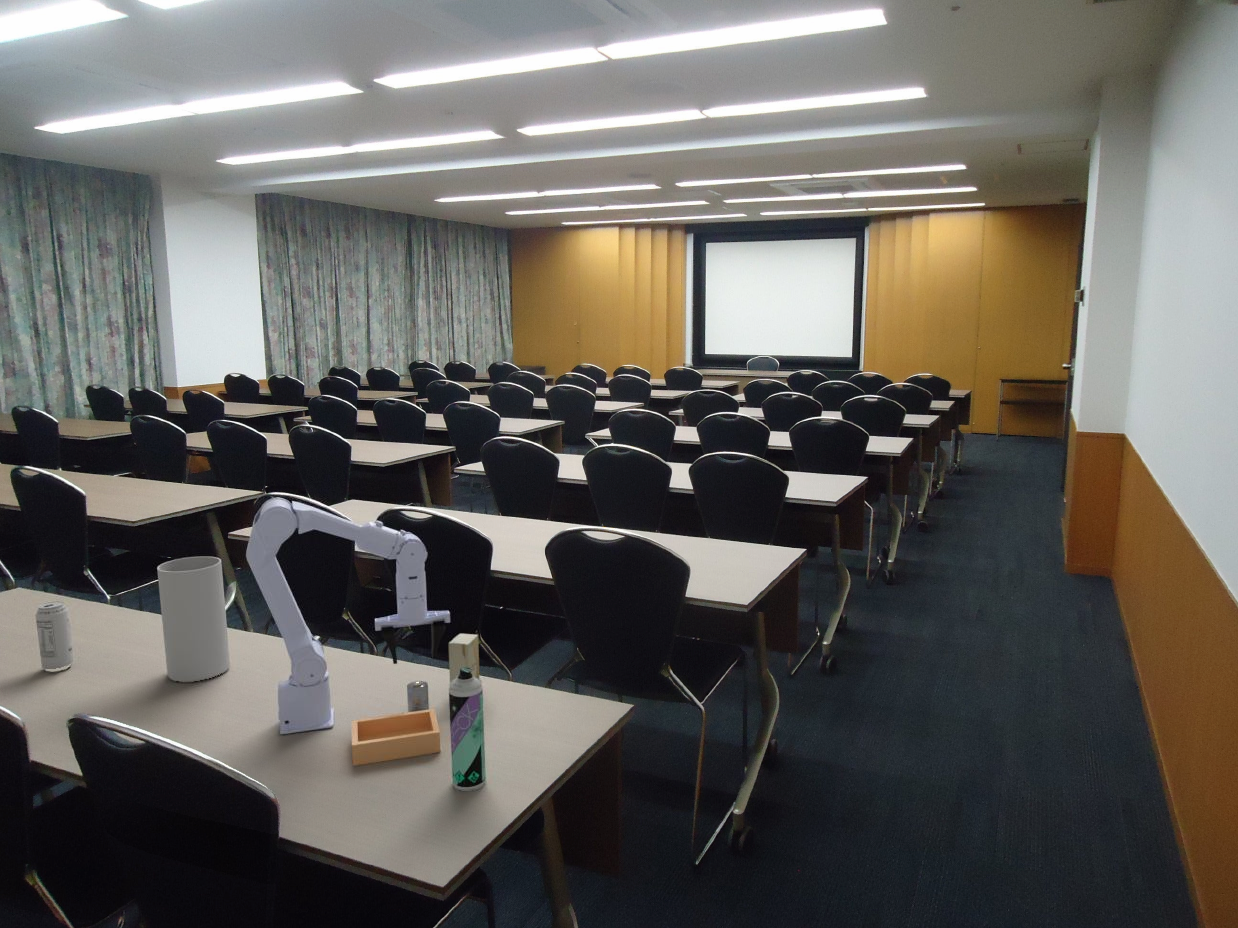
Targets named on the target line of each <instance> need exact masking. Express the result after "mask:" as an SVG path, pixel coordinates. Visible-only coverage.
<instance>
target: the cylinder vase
mask: <svg viewBox="0 0 1238 928" xmlns="http://www.w3.org/2000/svg"><path fill="white" fill-rule="evenodd" d="M222 565H223V564H222V559H221V558H219V557H215V556H191V557H190V556H189V557H182V558H178V559H177V558H176V559H173V560H170V561H166V562H163V563H161V564H159V565H158V566H157V568H156V569H157V578H158V592H159V601H160V610H161V611H160V612H161V621H162V633H163V642H164V654H165V664H166V673H167V676H168V678H169V679H170V680H171V681H173V682H176V681H179V682H178V683H195V682H194V681H198V682H201V681H200V680H203V681H205V680H204V679H207V680H210V679H209V678H211V679H213V678H212V677H214V676H216V677H218V676H217V675H219V676H221V675H222V674H224V673H225V672H226V671H228V670H229V668H230V666H231V661H230V659H231V658H230V650H229V649H230V647H229V637H228V626H227V613H226V601H225V591H224V577H223V566H222ZM221 673H222V674H221ZM220 674H221V675H220ZM214 678H215V677H214Z"/></svg>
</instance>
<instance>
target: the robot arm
mask: <svg viewBox="0 0 1238 928" xmlns="http://www.w3.org/2000/svg"><path fill="white" fill-rule="evenodd" d="M291 502H292V503H291ZM291 502H290V501H289V500H288V499H285V498H283V497H273V498H270V499H268V500H266V501H264V503H263V504H261V507H260V508H259V509H258V511H257V513H256V514H255V516H254V519H253V522H252V526H251V527H252V528H251V530H250V536H249V539H248V543H247V548H246V552H245V557H246V561H247V563H248V565H249V567H250V569H251V572H252V574H253V576H254V578H255V581H256V583H257V585H258V587H259V589H260V591H261V593H262V596H263V598H264V600H265V601H266V605H267V606H268V608H269V612H270V613H271V615H272V617H273V619H274V622H275V624H276V626H277V628H278V631H279V634H281V637H282V639H283V642H284V644H285V647H286V652H287V653H288V657H289V660H290V665H291V667H290V672H291V674H290V675H289V676H288V679H286V680H283V681H282V680H281V681H279V682H278V684H277V686H278V687H277V703H278V706H277V707H278V711H277V712H278V714H277V715H278V721H279V729H280V731H279V734H280V735H288V734H295V733H300V732H308V731H314V730H321V729H328V728H334V720H335V719H334V718H335V708H334V707H332V704H331V687H330V676H329V675H330V674H329V671H328V670H327V669H328V664H327V661H326V658H325V651H324V646H323V644H322V642H321V641H319V640H318V639H317V638H315V637H314V636H313V634H312V633H311V630H310V628H309V627H308V626H307V624H306V621H305V620H304V617H303V615H302V612H301V609H300V608H299V606H298V604H297V601H296V599H295V597H294V595H293V592H292V590H291V588H290V586H289V584H288V581H287V580H286V577H285V574H284V573H283V570H282V568H281V566H280V563H279V561H278V560H277V559H278V558H277V554H278V552H279V550H280V548H281V546H282V544H284V542H285V541H286V540H288V539H289V538H290V537H291V536H292V535H293V534H294V532H295V531H296V530H297V532H298V534H299V535H301V534H304V533H307V532H311V531H313V530H316V531H319V532H323V533H326V534H330V535H333V536H336V537H340V538H344V539H347V540H350V541H354V542H355V545H356V548H357V549H358V550H361V551H364V552H366V553H369V554H372V555H374V556H379V557H381V558H385V559H387V560H396V561H395V562H396V563H395V564H396V566H395V567H396V573H395V587H396V605H397V614H392V615H388V616H384V617H379V618H374V628H375V631H376V632H377V631H381V632H380V633H381V636H382V638H383V639H384V641H385V643H386V645H387V647H388V650H389V652H390V654H391V658H392V662H393V663H392V664H393V665H397V664H398V657H397V651H396V634H395V633H396V632H395V628H401V627H402V628H403V627H405V628H406V627H411V626H420V625H422V626H423V625H430V632H431V633H430V634H431V657H432V658H431V659H432V660H436V659H437V654H438V648H439V645H440V642H441V640H442V637H443V635H444V633H445V630H446V623H447V624H449V623H451V612H450V611H449V610H428V607H427V605H428V604H427V581H426V579H427V577H426V571H425V565H426V564H425V562H426V561H427V558H428V551H427V548H426V546H425V544H424V543H423V542H422V540H421V539H420V538H419V537H418V536H417V535H415V534H413V533H412V532H410V531H405V530H403V529H400V530H396V529H393V528H390V527H387V526H384V523H383V522H382V521H380V520H375V522H373V521H366V522H364V523H362V524H358V523H356V522H354V521H351V520H348V519H345V518H342V517H340V516H337V515H334V514H333V513H330V512H328V511H324V510H322V509H320V508H316V507H315V506H311V505H308V504H306V503H302V502H299V501H294V500H292V501H291Z"/></svg>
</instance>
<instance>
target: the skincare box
mask: <svg viewBox="0 0 1238 928" xmlns="http://www.w3.org/2000/svg"><path fill="white" fill-rule="evenodd" d="M479 651H480V650H479V634H473V633H472V634H470V633H459V634H458V635H456V636H455V637H454V638H452V640H450V641H449V642H448V668H449V669H448V670H449V683H450V682H451V681H453V680H454V679H456V678H457V676H458V675H459V674H460V669H461V668H464V667H467V668H470V671H471V673H472V674H473V675H474V677H476V678H479V679H480V657H479V656H480V655H479Z"/></svg>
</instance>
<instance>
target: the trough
mask: <svg viewBox="0 0 1238 928" xmlns="http://www.w3.org/2000/svg"><path fill="white" fill-rule="evenodd" d="M437 719H438V718H437V715H436V711H435V708H431V709H430V708H429V710H422V711H415V712H408V711H407V712H402V713H394V714H387V715H381V716H373V717H367V718H366V717H365V718H358V719H353V720H351V751H352V752H351V754H352V766H353V767H354V766H360V765H366V764H373V763H379V762H380V763H381V762H386V761H393V760H397V759H398V760H399V759H405V758H411V757H418V756H424V755H431V754H436V753H442V752H441V735H440V734H441V731H440V728H439V724H438V723H439V722H438V720H437Z"/></svg>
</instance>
